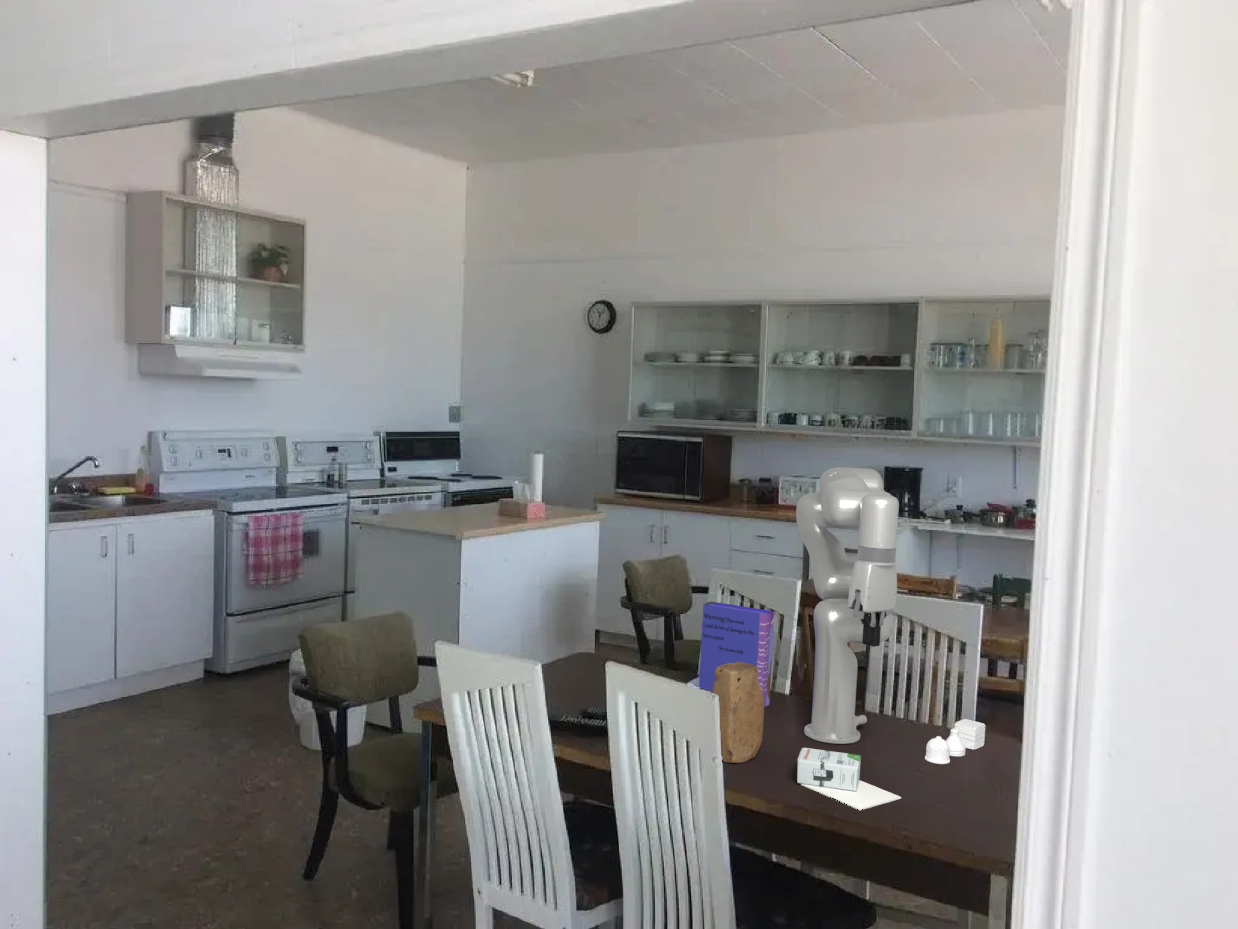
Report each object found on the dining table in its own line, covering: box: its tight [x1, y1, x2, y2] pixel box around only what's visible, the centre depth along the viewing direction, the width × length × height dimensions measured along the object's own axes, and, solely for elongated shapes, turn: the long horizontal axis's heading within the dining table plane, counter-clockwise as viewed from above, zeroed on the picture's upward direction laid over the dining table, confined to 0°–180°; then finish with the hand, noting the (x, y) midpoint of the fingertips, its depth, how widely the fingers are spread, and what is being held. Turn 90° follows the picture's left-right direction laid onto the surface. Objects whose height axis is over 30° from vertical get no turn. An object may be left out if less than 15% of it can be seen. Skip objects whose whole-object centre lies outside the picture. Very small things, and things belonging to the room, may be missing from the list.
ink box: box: [796, 747, 862, 791], centre depth 210 cm, size 9×5×12 cm
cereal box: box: [698, 601, 775, 709], centre depth 265 cm, size 17×5×24 cm, turn 59°
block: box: [712, 662, 765, 764], centre depth 222 cm, size 11×8×20 cm
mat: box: [800, 779, 902, 811], centre depth 206 cm, size 12×15×1 cm
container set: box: [924, 718, 986, 765], centre depth 233 cm, size 20×5×6 cm, turn 136°
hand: (870, 644), depth 214 cm, fingers closed
